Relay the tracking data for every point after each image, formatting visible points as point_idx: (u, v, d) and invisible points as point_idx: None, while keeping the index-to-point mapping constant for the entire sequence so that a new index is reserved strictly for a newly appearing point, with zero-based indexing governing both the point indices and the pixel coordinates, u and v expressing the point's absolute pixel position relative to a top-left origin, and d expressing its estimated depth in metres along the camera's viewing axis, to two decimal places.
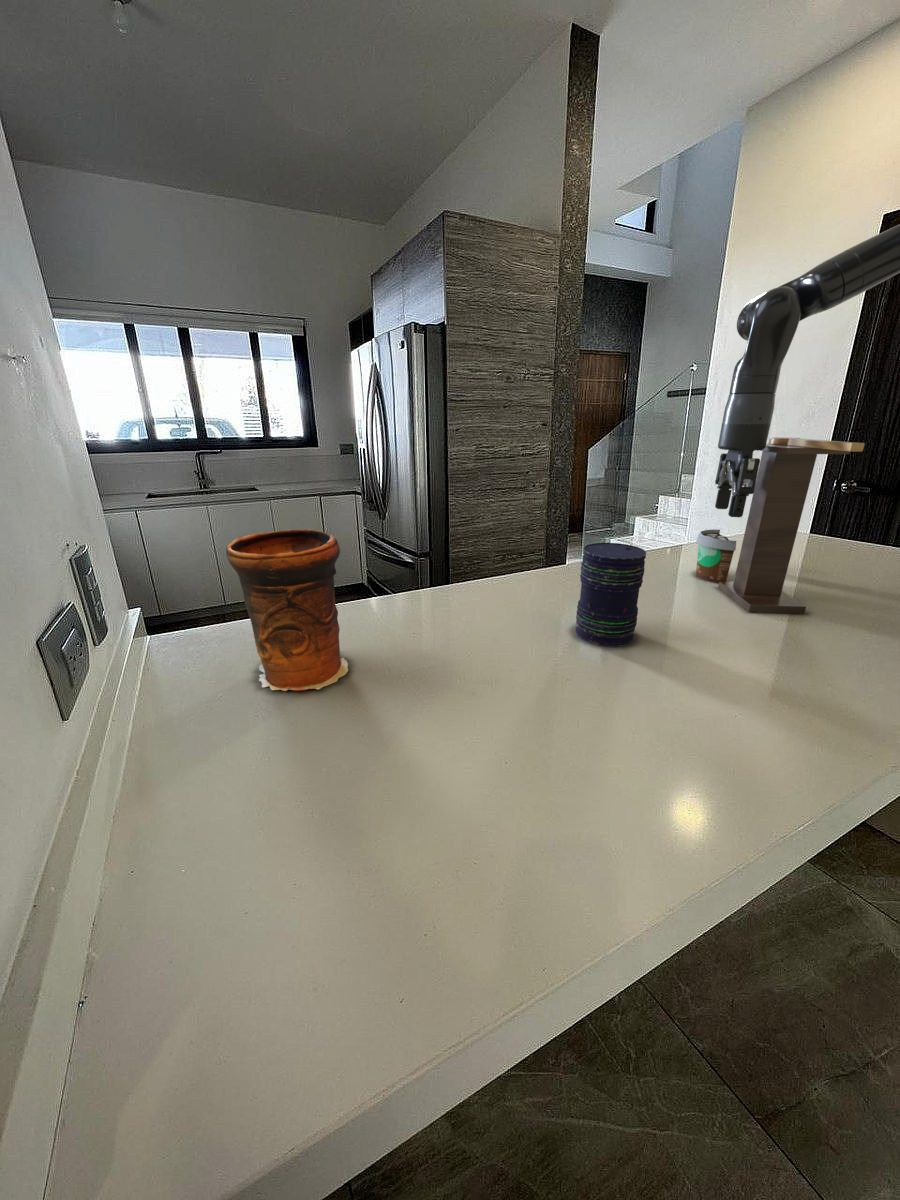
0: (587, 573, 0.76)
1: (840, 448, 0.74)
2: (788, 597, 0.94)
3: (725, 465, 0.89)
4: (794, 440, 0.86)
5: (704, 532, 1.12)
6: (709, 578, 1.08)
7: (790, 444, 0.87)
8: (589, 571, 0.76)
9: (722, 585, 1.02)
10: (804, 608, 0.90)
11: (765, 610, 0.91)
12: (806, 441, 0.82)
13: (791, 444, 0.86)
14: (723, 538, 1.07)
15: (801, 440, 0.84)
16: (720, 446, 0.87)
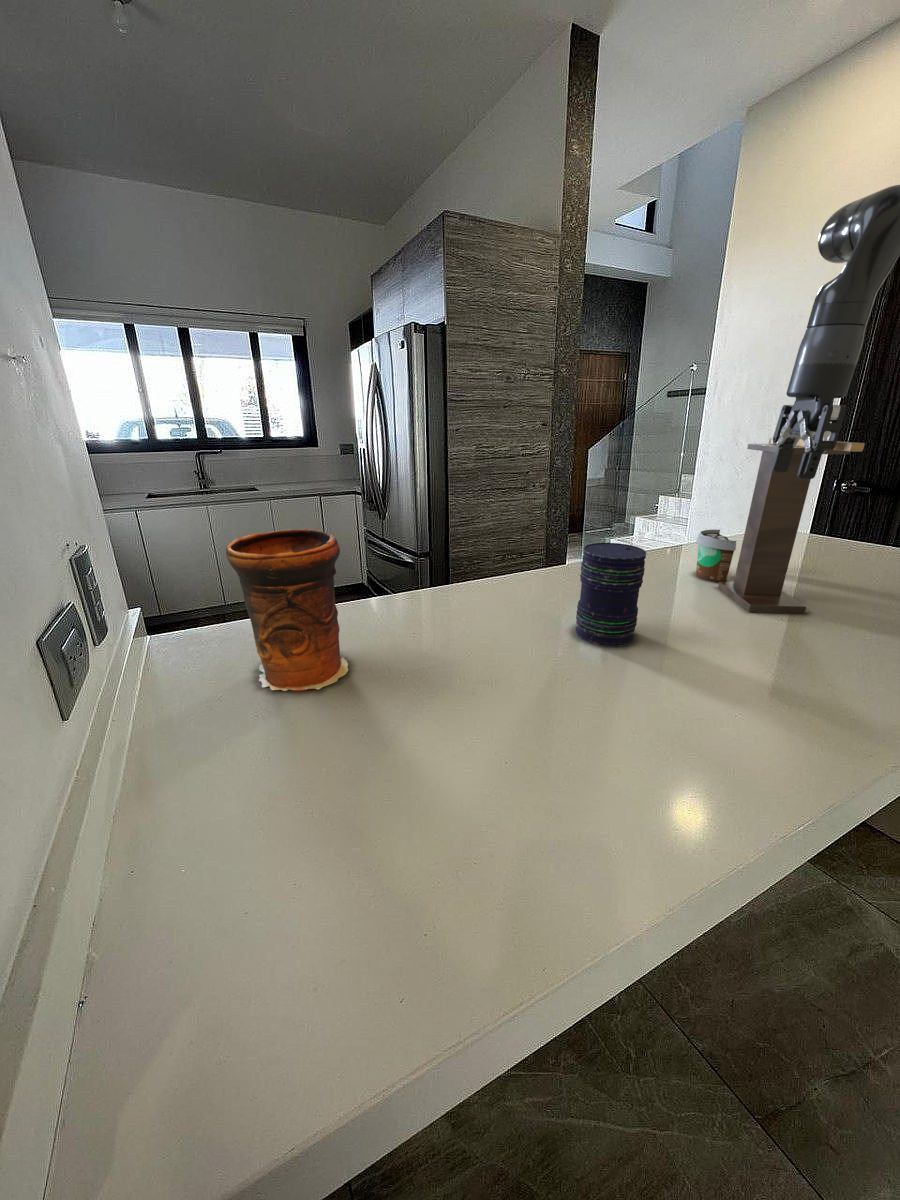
0: (587, 573, 0.76)
1: (840, 448, 0.74)
2: (788, 597, 0.94)
3: (793, 417, 0.75)
4: None
5: (704, 532, 1.12)
6: (709, 578, 1.08)
7: None
8: (589, 571, 0.76)
9: (722, 585, 1.02)
10: (804, 608, 0.90)
11: (765, 610, 0.91)
12: None
13: None
14: (723, 538, 1.07)
15: (801, 440, 0.84)
16: (792, 392, 0.72)
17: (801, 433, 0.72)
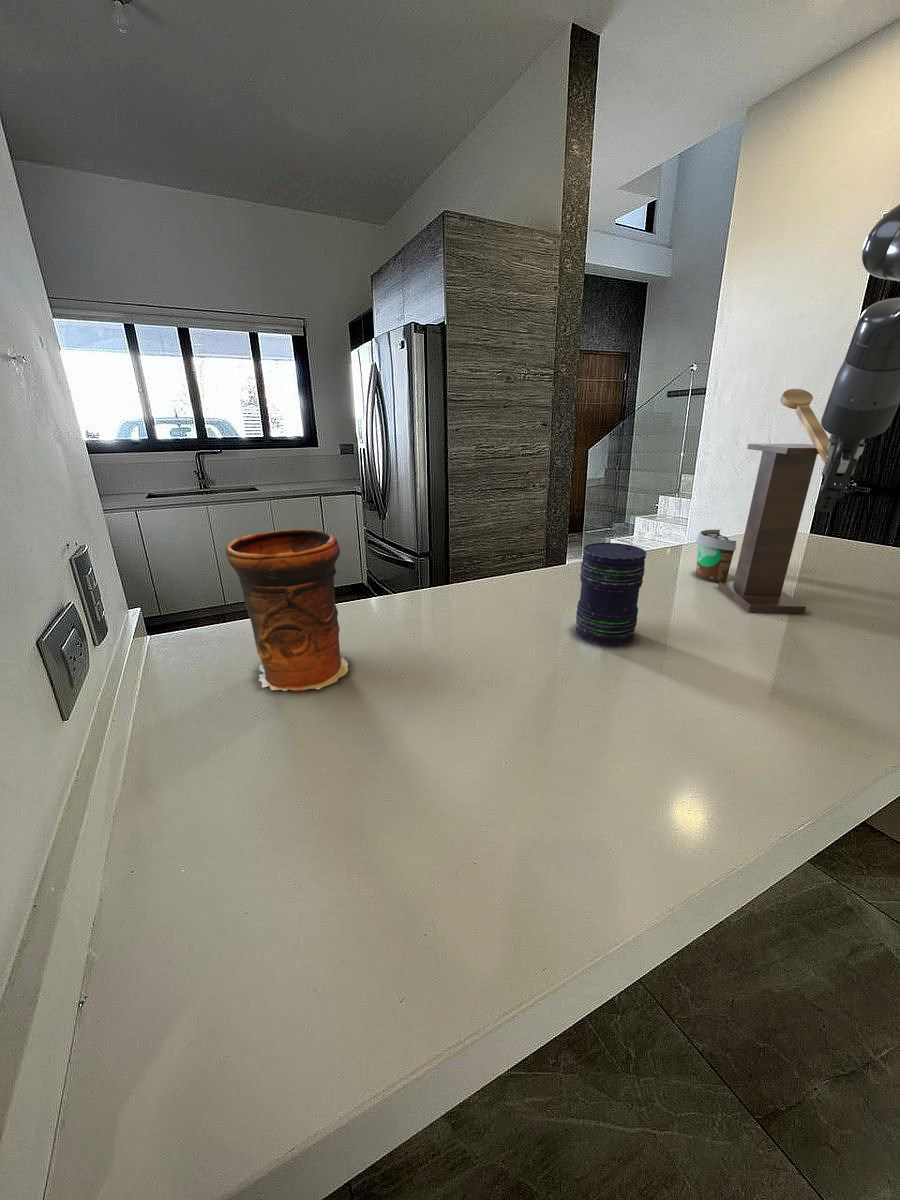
0: (587, 573, 0.76)
1: None
2: (788, 597, 0.94)
3: (831, 439, 0.69)
4: (800, 413, 0.85)
5: (704, 532, 1.12)
6: (709, 578, 1.08)
7: (797, 413, 0.86)
8: (589, 571, 0.76)
9: (722, 585, 1.02)
10: (804, 608, 0.90)
11: (765, 610, 0.91)
12: (808, 425, 0.82)
13: (797, 414, 0.85)
14: (723, 538, 1.07)
15: (805, 420, 0.83)
16: (821, 423, 0.67)
17: None
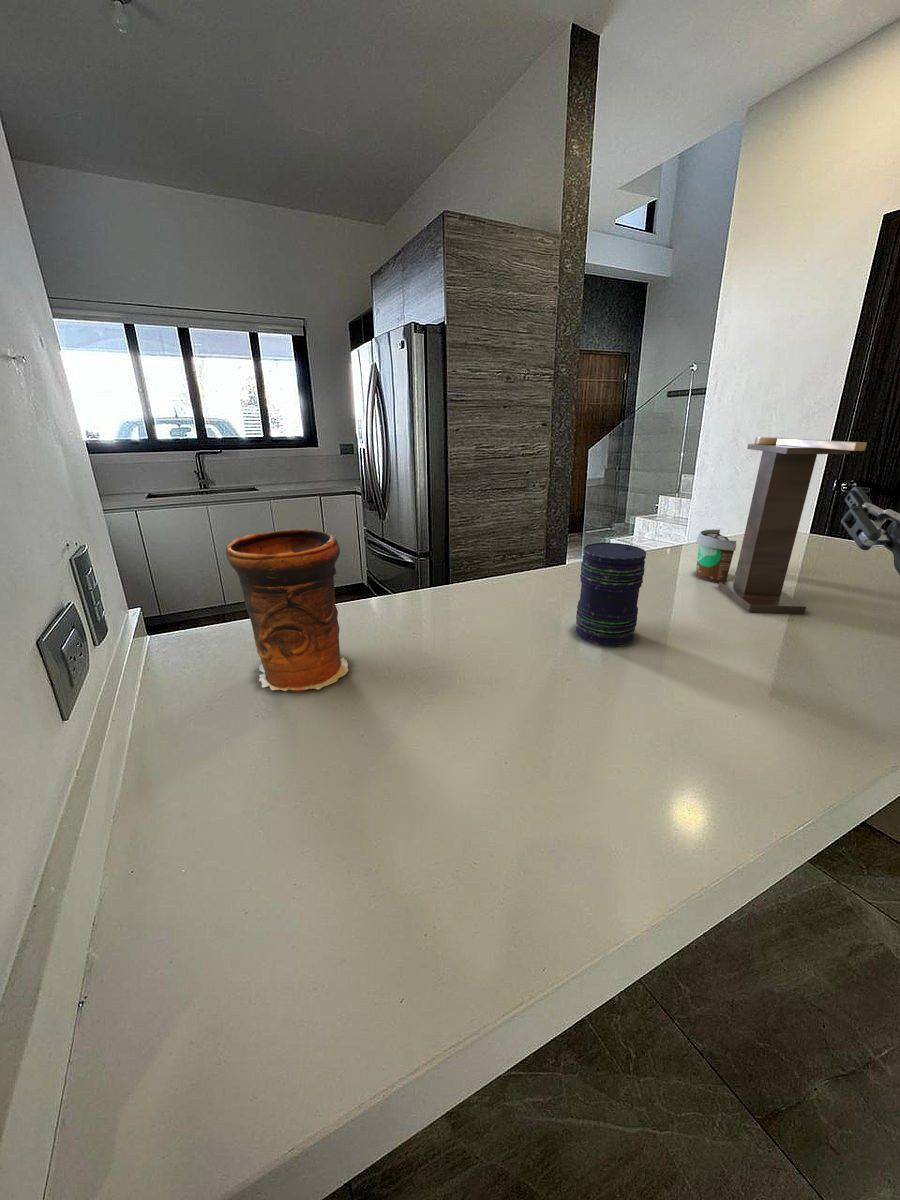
0: (587, 573, 0.76)
1: (842, 447, 0.75)
2: (788, 597, 0.94)
3: None
4: (784, 440, 0.87)
5: (704, 532, 1.12)
6: (709, 578, 1.08)
7: (779, 444, 0.88)
8: (589, 571, 0.76)
9: (722, 585, 1.02)
10: (804, 608, 0.90)
11: (765, 610, 0.91)
12: (799, 441, 0.84)
13: (780, 444, 0.88)
14: (723, 538, 1.07)
15: (793, 440, 0.85)
16: None
17: (893, 512, 0.61)
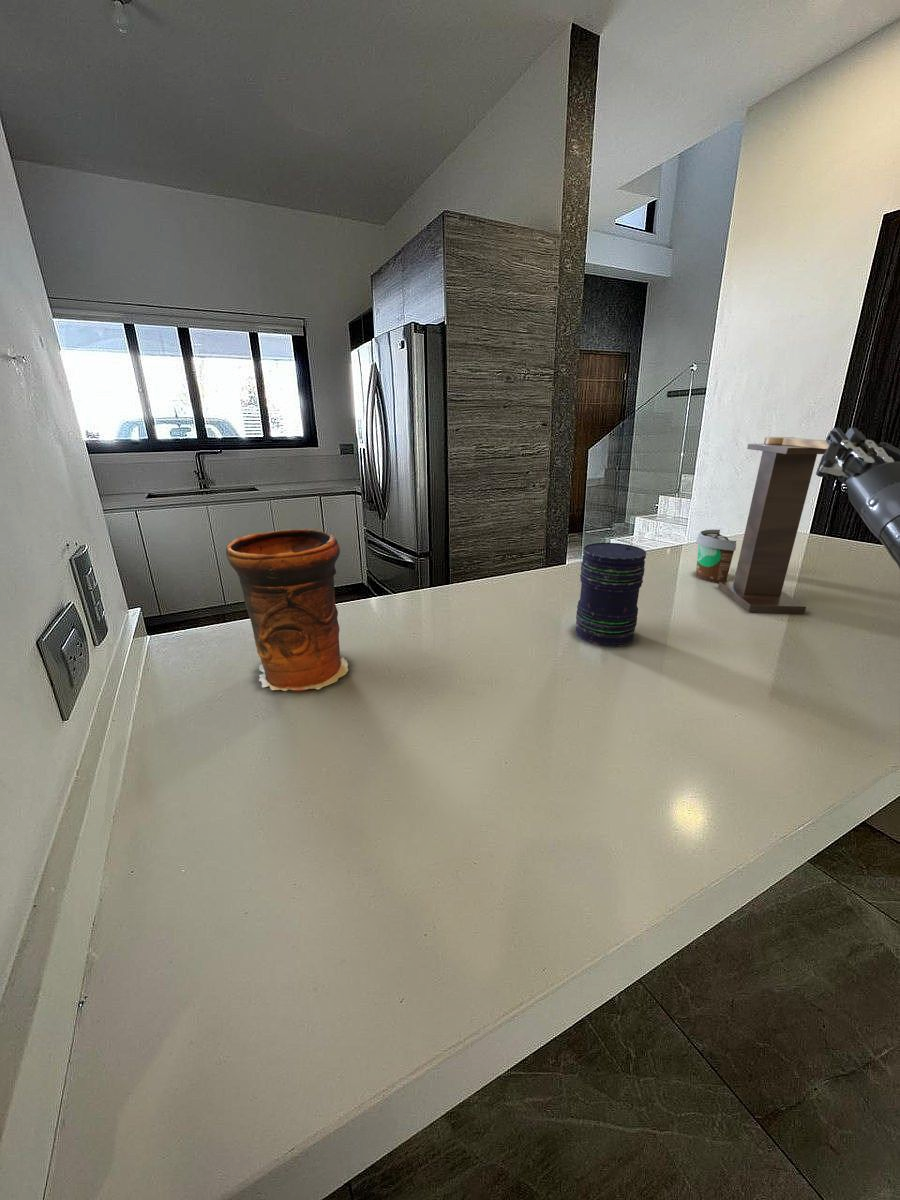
0: (587, 573, 0.76)
1: None
2: (788, 597, 0.94)
3: (883, 460, 0.68)
4: (788, 440, 0.87)
5: (704, 532, 1.12)
6: (709, 578, 1.08)
7: (785, 443, 0.88)
8: (589, 571, 0.76)
9: (722, 585, 1.02)
10: (804, 608, 0.90)
11: (765, 610, 0.91)
12: (800, 441, 0.84)
13: (786, 443, 0.88)
14: (723, 538, 1.07)
15: (795, 440, 0.85)
16: (892, 462, 0.64)
17: (859, 449, 0.70)
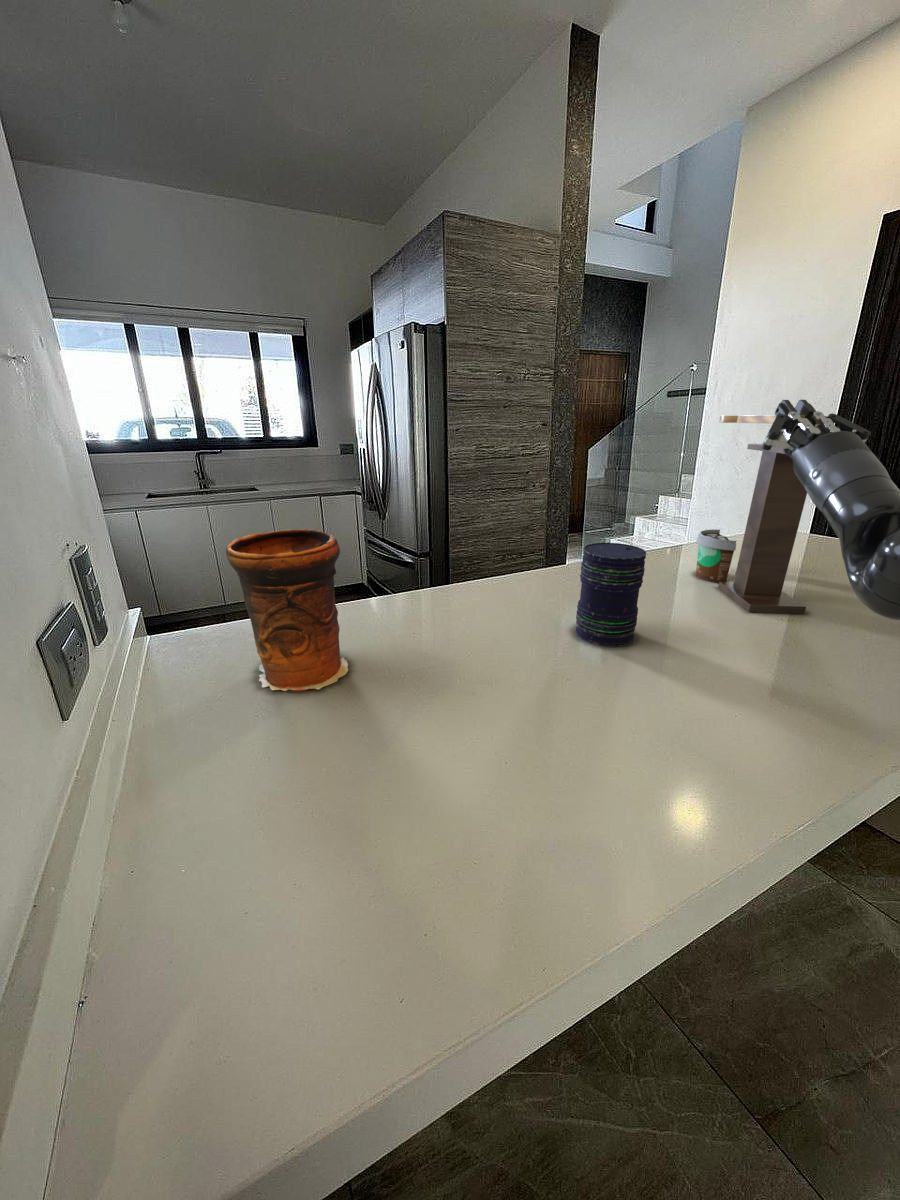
0: (587, 573, 0.76)
1: None
2: (788, 597, 0.94)
3: (829, 431, 0.63)
4: (742, 417, 0.83)
5: (704, 532, 1.12)
6: (709, 578, 1.08)
7: (739, 421, 0.84)
8: (589, 571, 0.76)
9: (722, 585, 1.02)
10: (804, 608, 0.90)
11: (765, 610, 0.91)
12: (753, 417, 0.80)
13: (740, 421, 0.84)
14: (723, 538, 1.07)
15: (748, 416, 0.81)
16: (837, 432, 0.60)
17: (806, 420, 0.65)
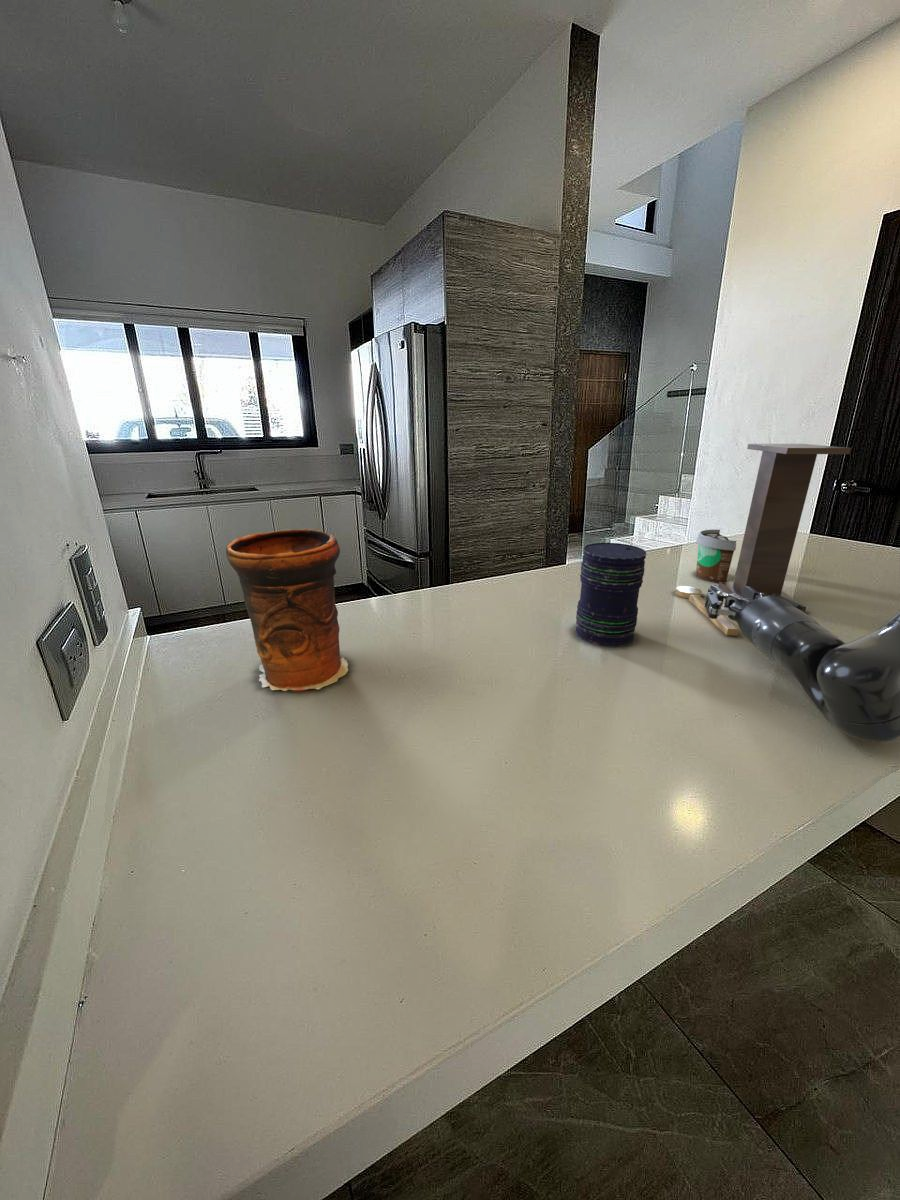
0: (587, 573, 0.76)
1: (720, 628, 0.84)
2: (788, 597, 0.94)
3: None
4: (693, 599, 0.95)
5: (704, 532, 1.12)
6: (709, 578, 1.08)
7: (690, 600, 0.97)
8: (589, 571, 0.76)
9: (722, 585, 1.02)
10: (804, 608, 0.90)
11: None
12: (700, 605, 0.92)
13: (691, 601, 0.96)
14: (723, 538, 1.07)
15: (697, 602, 0.93)
16: (766, 596, 0.71)
17: (735, 594, 0.77)
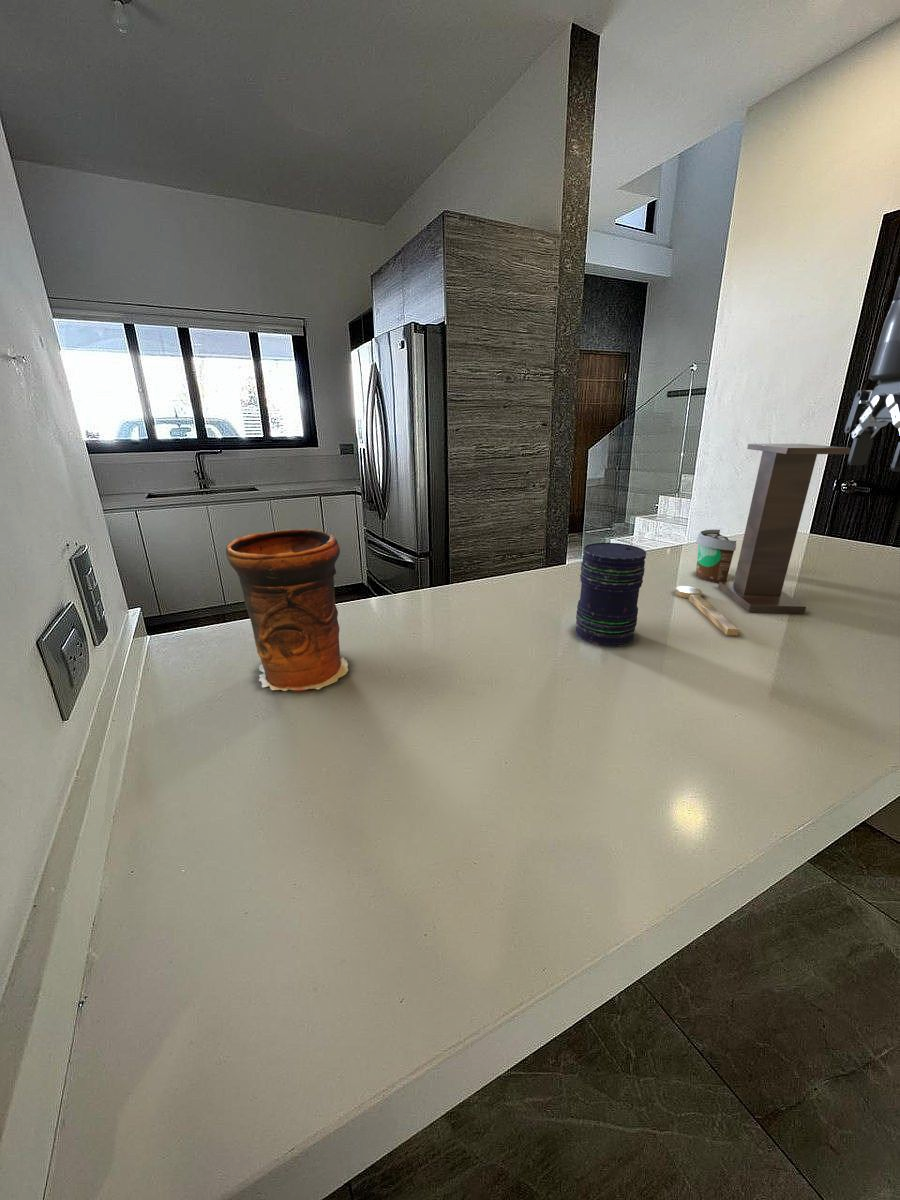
0: (587, 573, 0.76)
1: (720, 628, 0.84)
2: (788, 597, 0.94)
3: None
4: (693, 599, 0.95)
5: (704, 532, 1.12)
6: (709, 578, 1.08)
7: (690, 600, 0.97)
8: (589, 571, 0.76)
9: (722, 585, 1.02)
10: (804, 608, 0.90)
11: (765, 610, 0.91)
12: (700, 605, 0.92)
13: (691, 601, 0.96)
14: (723, 538, 1.07)
15: (697, 602, 0.93)
16: None
17: None
